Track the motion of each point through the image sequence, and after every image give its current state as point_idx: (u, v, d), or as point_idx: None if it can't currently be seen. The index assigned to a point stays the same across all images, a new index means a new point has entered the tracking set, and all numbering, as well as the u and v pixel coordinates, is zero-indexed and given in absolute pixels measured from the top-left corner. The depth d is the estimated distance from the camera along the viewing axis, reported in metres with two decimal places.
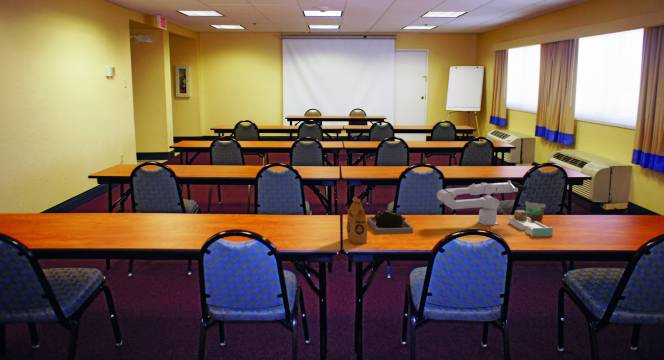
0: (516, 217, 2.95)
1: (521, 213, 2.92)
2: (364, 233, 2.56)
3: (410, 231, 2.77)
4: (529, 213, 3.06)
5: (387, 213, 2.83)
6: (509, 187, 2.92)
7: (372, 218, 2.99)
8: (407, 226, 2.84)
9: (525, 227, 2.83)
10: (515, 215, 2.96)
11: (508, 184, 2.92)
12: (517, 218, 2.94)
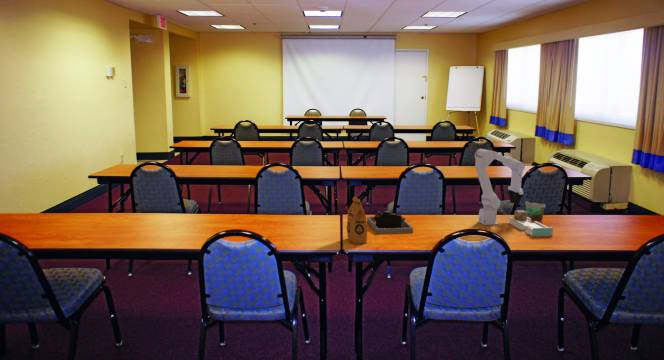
0: (516, 217, 2.95)
1: (521, 213, 2.92)
2: (364, 233, 2.56)
3: (410, 231, 2.77)
4: (529, 213, 3.06)
5: (387, 213, 2.83)
6: (518, 188, 2.98)
7: (372, 218, 2.99)
8: (407, 226, 2.84)
9: (525, 227, 2.83)
10: (515, 215, 2.96)
11: (520, 187, 2.99)
12: (517, 218, 2.94)
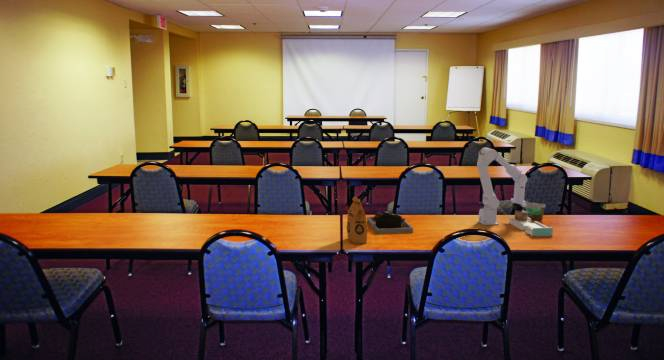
0: (517, 217, 2.94)
1: (522, 213, 2.92)
2: (364, 233, 2.56)
3: (410, 231, 2.77)
4: (529, 213, 3.06)
5: (387, 214, 2.82)
6: (522, 200, 2.94)
7: (372, 218, 2.99)
8: (407, 226, 2.84)
9: (525, 227, 2.83)
10: (516, 215, 2.95)
11: (523, 199, 2.96)
12: (518, 218, 2.93)
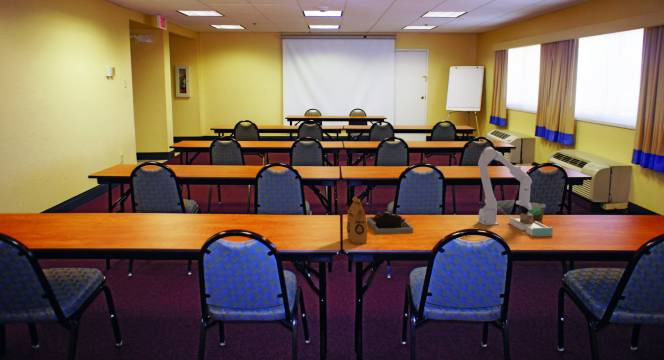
0: (522, 220, 2.88)
1: (527, 216, 2.86)
2: (364, 233, 2.56)
3: (410, 231, 2.77)
4: None
5: (387, 214, 2.81)
6: (527, 203, 2.88)
7: (372, 218, 2.99)
8: (407, 226, 2.84)
9: (525, 227, 2.83)
10: (521, 218, 2.89)
11: None
12: (523, 221, 2.87)
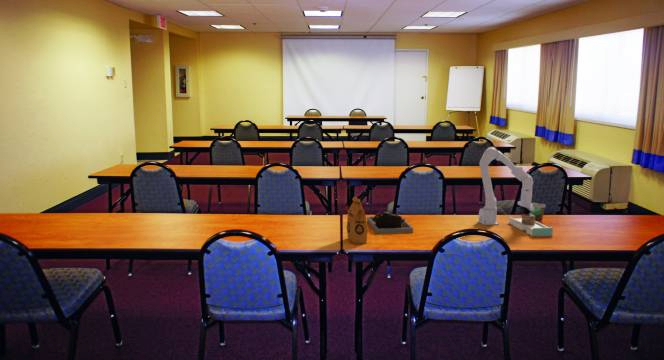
0: (524, 221, 2.86)
1: (529, 217, 2.84)
2: (364, 233, 2.56)
3: (410, 231, 2.77)
4: (529, 213, 3.06)
5: (386, 214, 2.81)
6: (529, 204, 2.86)
7: (372, 218, 2.99)
8: (407, 226, 2.84)
9: (525, 227, 2.83)
10: (523, 219, 2.87)
11: None
12: (525, 222, 2.85)
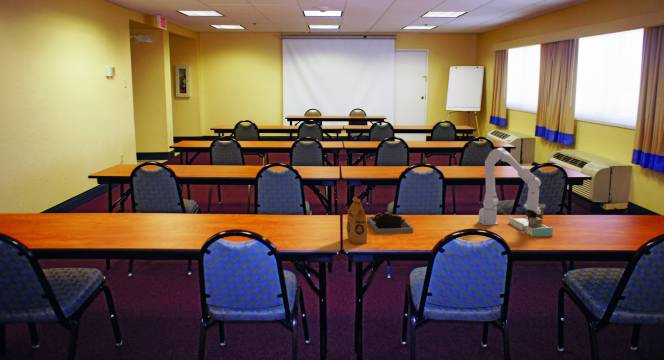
0: (530, 225, 2.79)
1: (536, 220, 2.77)
2: (364, 233, 2.56)
3: (410, 231, 2.77)
4: None
5: (387, 215, 2.80)
6: (536, 207, 2.80)
7: (372, 218, 2.99)
8: (407, 226, 2.84)
9: (525, 227, 2.83)
10: (529, 222, 2.80)
11: (537, 206, 2.81)
12: (532, 226, 2.78)
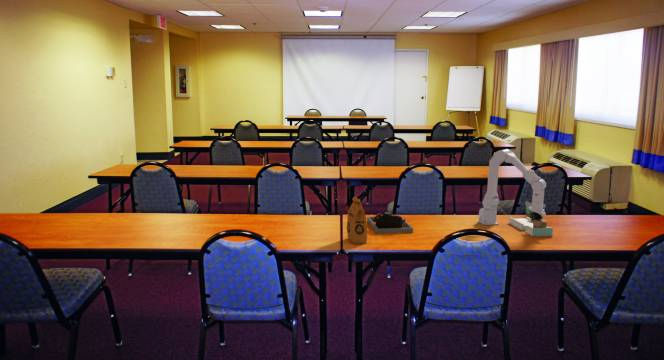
0: (535, 227, 2.75)
1: (541, 223, 2.72)
2: (364, 233, 2.56)
3: (410, 231, 2.77)
4: (529, 213, 3.06)
5: (387, 215, 2.79)
6: (540, 209, 2.75)
7: (372, 218, 2.99)
8: (407, 226, 2.84)
9: (525, 227, 2.83)
10: (534, 225, 2.76)
11: (542, 208, 2.76)
12: None
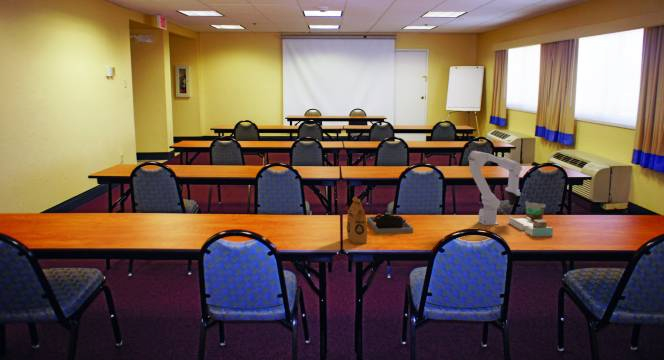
0: (535, 227, 2.75)
1: (541, 223, 2.72)
2: (364, 233, 2.56)
3: (410, 231, 2.77)
4: (529, 213, 3.06)
5: (387, 215, 2.79)
6: (516, 189, 2.95)
7: (372, 218, 2.99)
8: (407, 226, 2.84)
9: (525, 227, 2.83)
10: (534, 225, 2.76)
11: (517, 188, 2.96)
12: None
